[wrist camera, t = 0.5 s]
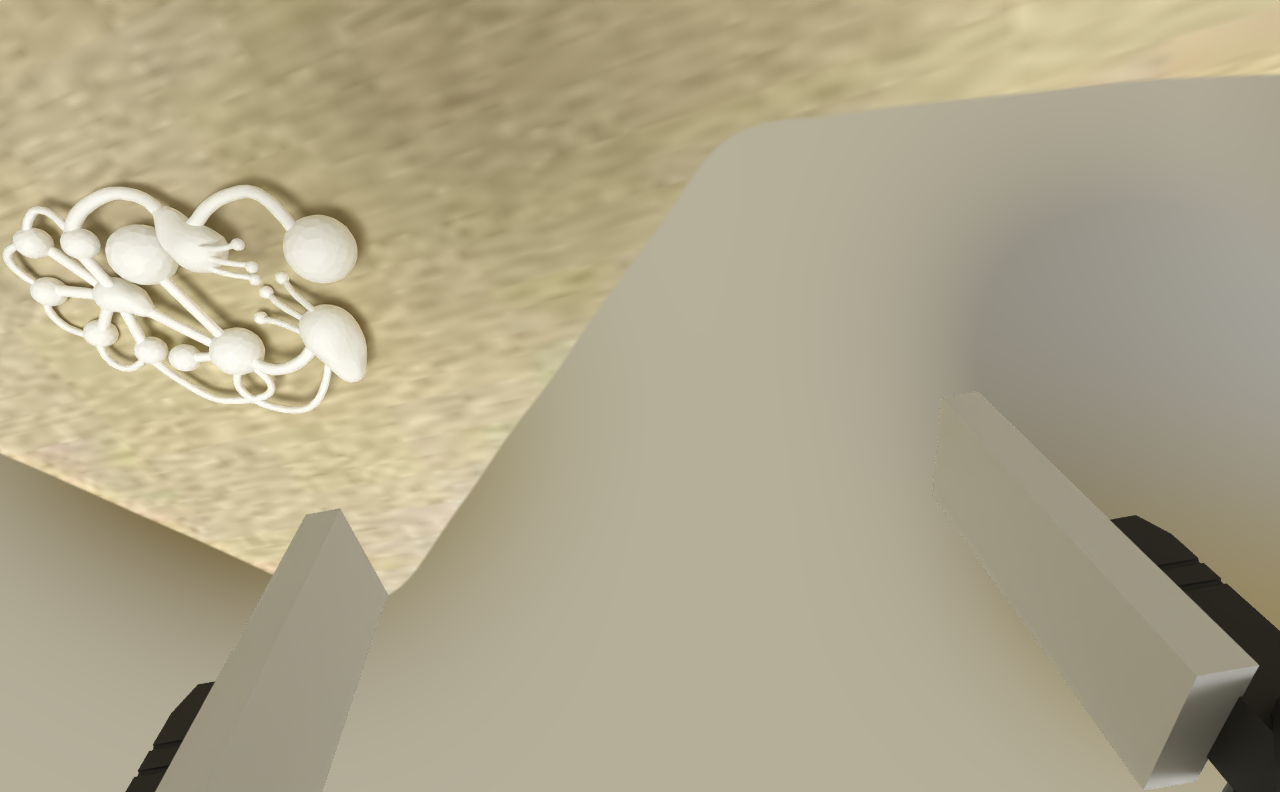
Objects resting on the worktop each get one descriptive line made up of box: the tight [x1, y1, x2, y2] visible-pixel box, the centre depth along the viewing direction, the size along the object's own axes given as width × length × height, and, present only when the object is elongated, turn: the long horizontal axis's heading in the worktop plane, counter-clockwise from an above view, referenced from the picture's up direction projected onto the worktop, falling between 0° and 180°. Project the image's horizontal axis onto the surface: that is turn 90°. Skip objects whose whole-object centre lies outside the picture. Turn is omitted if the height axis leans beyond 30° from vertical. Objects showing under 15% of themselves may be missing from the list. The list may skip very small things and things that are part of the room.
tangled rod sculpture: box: [2, 185, 367, 414], centre depth 38 cm, size 19×14×4 cm
